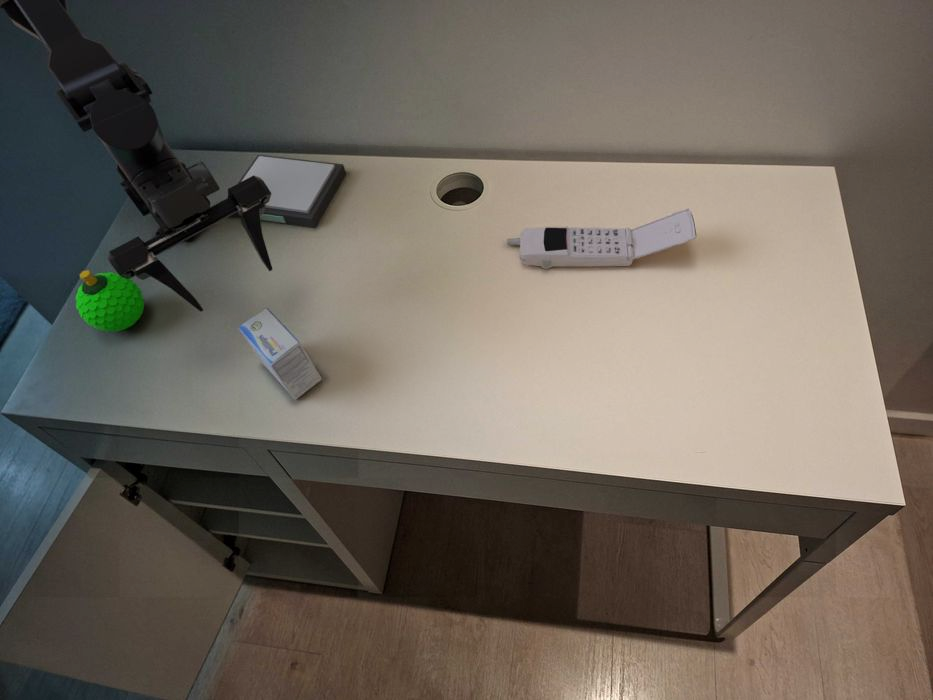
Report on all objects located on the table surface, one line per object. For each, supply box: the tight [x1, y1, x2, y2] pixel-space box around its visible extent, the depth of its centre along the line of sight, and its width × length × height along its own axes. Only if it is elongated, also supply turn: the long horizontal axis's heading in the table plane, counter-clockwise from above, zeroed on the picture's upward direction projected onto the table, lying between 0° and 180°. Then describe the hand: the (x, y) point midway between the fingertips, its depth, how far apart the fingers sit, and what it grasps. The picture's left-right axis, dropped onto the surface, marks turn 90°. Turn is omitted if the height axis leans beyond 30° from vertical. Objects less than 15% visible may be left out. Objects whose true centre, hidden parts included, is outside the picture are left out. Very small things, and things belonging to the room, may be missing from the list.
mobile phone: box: [506, 208, 697, 269], centre depth 82 cm, size 6×6×25 cm
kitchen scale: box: [230, 154, 347, 229], centre depth 97 cm, size 16×13×3 cm
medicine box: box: [238, 307, 322, 401], centre depth 74 cm, size 8×4×9 cm, turn 42°
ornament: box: [75, 269, 145, 333], centre depth 82 cm, size 8×8×10 cm
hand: (237, 290), depth 71 cm, fingers open, 9 cm apart
